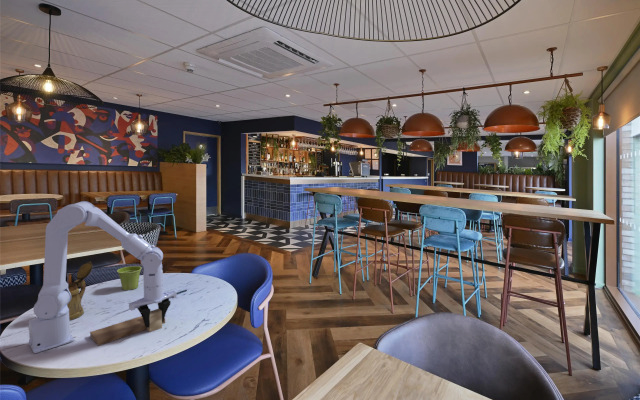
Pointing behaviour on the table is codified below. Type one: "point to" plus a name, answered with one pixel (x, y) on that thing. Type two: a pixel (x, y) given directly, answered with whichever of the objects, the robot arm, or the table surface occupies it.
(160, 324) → the marking gauge
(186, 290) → the pencil
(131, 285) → the plant pot
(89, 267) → the wooden mug
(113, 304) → the table surface
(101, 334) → the walnut board
